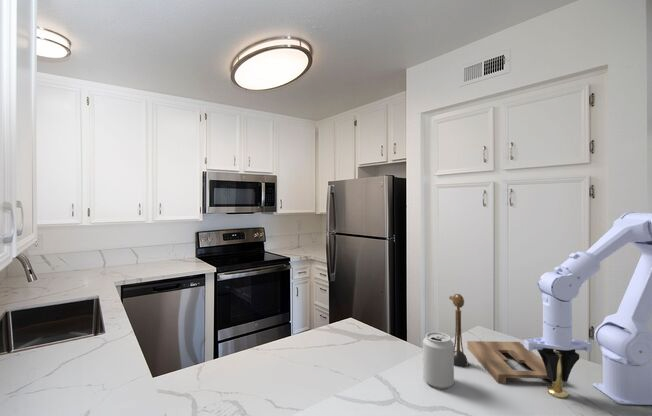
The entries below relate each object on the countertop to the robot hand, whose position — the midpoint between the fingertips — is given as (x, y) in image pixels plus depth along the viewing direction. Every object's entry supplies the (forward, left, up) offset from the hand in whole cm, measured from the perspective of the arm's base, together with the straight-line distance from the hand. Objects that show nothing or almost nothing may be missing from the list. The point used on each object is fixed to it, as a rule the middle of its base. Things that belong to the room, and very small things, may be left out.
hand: (557, 379), depth 77 cm
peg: (0, 0, -3) cm, 3 cm away
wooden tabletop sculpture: (+18, -15, -4) cm, 24 cm away
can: (+27, -4, -4) cm, 28 cm away
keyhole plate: (+4, -14, -3) cm, 15 cm away
